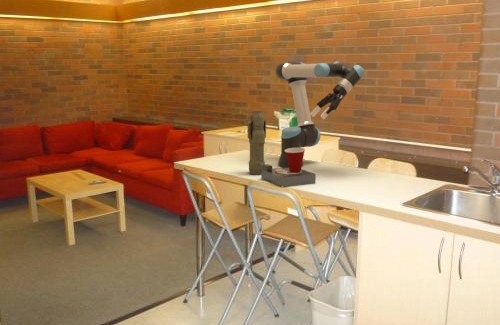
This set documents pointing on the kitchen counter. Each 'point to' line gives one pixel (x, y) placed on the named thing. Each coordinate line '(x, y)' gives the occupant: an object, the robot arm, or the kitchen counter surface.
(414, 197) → the kitchen counter surface
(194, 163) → the kitchen counter surface
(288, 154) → the plastic cup
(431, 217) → the kitchen counter surface
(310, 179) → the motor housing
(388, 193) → the kitchen counter surface
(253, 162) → the brown tall upright piece
